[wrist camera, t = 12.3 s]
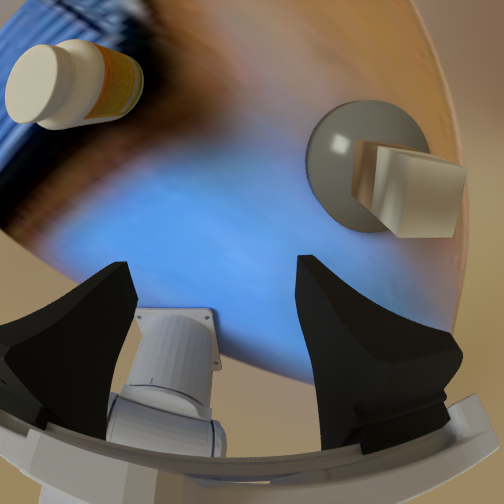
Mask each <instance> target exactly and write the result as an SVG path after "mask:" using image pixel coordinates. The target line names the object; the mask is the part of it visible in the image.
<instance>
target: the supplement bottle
mask: <svg viewBox="0 0 504 504" xmlns="http://www.w3.org/2000/svg"><path fill="white" fill-rule="evenodd" d="M143 85H144V77H143V72H142V69H141V67H140V65H139V64H138V63H137V62H136V61H135V60H134V59H133V58H131V57H129V56H127V55H124V54H122V53H119V52H116V51H114V50H111V49H109V48H106V47H103V46H100V45H97V44H95V43H92V42H89V41H85V40H79V39H72V40H67V41H64V42H61V43H59V44H57V45H55V46H53V45H46V44H42V45H37V46H34V47H32V48H30V49H29V50H28V51H26V52H25V53H24V54H23V55H22V56H21V57H20V58H19V59H18V61H17V62H16V64H15V65H14V67H13V69H12V71H11V73H10V76H9V78H8V82H7V86H6V92H5V103H6V108H7V111H8V114H9V115H10V117H11V118H12V119H13V120H14V121H15V122H17V123H20V124H27V123H33V122H37V123H38V124H39V125H40V126H42V127H44V128H47V129H52V130H58V129H66V128H71V127H76V126H81V125H87V124H94V123H100V122H107V121H112V120H116V119H118V118H121V117H122V116H124V115H126V114H127V113H128V112H129V111H130V110H131V109H132V108H133V107H134V106H135V105H136V103H137V102H138V100H139V98H140V96H141V93H142V90H143Z"/></svg>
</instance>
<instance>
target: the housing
mask: <svg viewBox="0 0 504 504" xmlns="http://www.w3.org/2000/svg"><path fill="white" fill-rule="evenodd" d="M466 172H467V168H465V167H463V166H460V165H458V164H455V163H453V162H450V161H448V160H445V159H442V158H440V157H437V156H434V155H431V154H429V153H426V152H423V151H420V150H417V149H413V148H410V147H407V146H404V145H398V144H391V143H384V142H377V141H368V140H359V139H355V148H354V164H353V176H352V188H351V195H352V196H353V197H354V198H355V199H357V200H358V201H359V202H360V203H361V204H362V205H363V206H365V207H366V208H367V209H368V210H369V211H370V212H371V213H372V214H373V215H375V216H376V217H377V218H378V219H379V220H380V221H381V222H382V223H383V224H384V225H385V226H386V227H387V228H389V229H390V230H391V231H392V232H393V233H394V234H395V235H396V236H397V237H398V238H440V237H453V234H454V230H455V226H456V222H457V218H458V214H459V210H460V205H461V200H462V195H463V190H464V184H465V178H466Z"/></svg>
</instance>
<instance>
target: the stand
mask: <svg viewBox="0 0 504 504" xmlns="http://www.w3.org/2000/svg"><path fill="white" fill-rule="evenodd" d="M355 139H359V140H368V141H377V142H384V143H391V144H398V145H404V146H407V147H410V148H413V149H417V150H420V151H423V152H426V153H429V148H428V144H427V141H426V139H425V136H424V134H423V132H422V131H421V129H420V127H419V126H418V124H417V123H416V122H415V121H414V120H413V118H412V117H411V116H410V115H408V114H407V113H406V112H405V111H404V110H402V109H400V108H399V107H397V106H395V105H392V104H390V103H387V102H383V101H375V100H368V101H353V102H348V103H345V104H342V105H340V106H338V107H336V108H334V109H333V110H331V111H330V112H329V113H327V114H326V115H325V116H324V117H323V118H322V119H321V120H320V121H319V123H318V124H317V126H316V127H315V128H314V130H313V132H312V134H311V136H310V139H309V142H308V145H307V150H306V158H305V166H306V174H307V179H308V182H309V186H310V188H311V190H312V192H313V194H314V196H315V197H316V199H317V200H318V202H319V203H320V204H321V205H322V207H323V208H324V209H325V210H326V212H327V213H328V214H329V215H330V216H331V217H332V218H333V219H334V220H335V221H336V222H338V223H339V224H341V225H342V226H344V227H346V228H348V229H351V230H354V231H358V232H366V233H373V232H380V231H384V230H387V229H389V228H387V227H386V226H385V225H384V224H383V223H382V222H381V221H380V220H379V219H378V218H377V217H376V216H375V215H373V214H372V213H371V212H370V211H369V210H368V209H367V208H366V207H365V206H363V205H362V204H361V203H360V202H359V201H358V200H357V199H355V198H354V197H353V196H352V195H351V188H352V176H353V164H354V148H355ZM429 154H430V153H429Z"/></svg>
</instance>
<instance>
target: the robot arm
mask: <svg viewBox="0 0 504 504" xmlns="http://www.w3.org/2000/svg"><path fill="white" fill-rule="evenodd" d="M295 301H296V307H297V314H298V318H299V322H300V325H301V329H302V332H303V335H304V339H305V342H306V346H307V349H308V353H309V356H310V360H311V364H312V369H313V375H314V381H315V388H316V396H317V403H318V413H319V422H320V435H321V451H318V452H311V453H303V454H295V455H284V456H271V457H249V458H248V457H247V458H228V457H226V451H227V450H226V449H227V442H226V434H225V431H224V429H223V428H222V426H221V424H220V423H219V422H218V421H216V420H211V413H212V409H211V408H210V398H211V386H212V374H213V371H218V370H221V369H222V365H221V360H220V354H219V348H218V343H217V337H216V331H215V325H214V319H213V313H212V310H211V309H209V308H136V307H137V302H138V297H137V294H136V291H135V287H134V284H133V281H132V278H131V274H130V271H129V267H128V264H127V261H124V262H114V263H112V264H110V265H108V266H106V267H105V268H103V269H102V270H100V271H99V272H97V273H96V274H94V275H93V276H92V277H90V278H89V279H87V280H86V281H84V282H83V283H82V284H80V285H79V286H77V287H76V288H74V289H73V290H71V291H70V292H68V293H67V294H65V295H64V296H63V297H61V298H59V299H57V300H56V301H54V302H52V303H51V304H49V305H47V306H45V307H43V308H42V309H40V310H37V311H35V312H33V313H31V314H29V315H27V316H25V317H22V318H20V319H18V320H15V321H12V322H9V323H7V324H4V325H0V456H1V457H3V458H4V459H6V460H7V461H8V462H10V463H11V464H13V465H14V466H16V467H17V468H18V469H19V470H20V472H21V473H23V474H24V475H26V476H28V477H29V478H31V479H32V480H34V481H36V482H38V483H40V484H41V485H42V489H41V494H40V499H39V504H401V503H404V502H406V501H409V500H411V499H413V498H416V497H418V496H420V495H422V494H425V493H426V492H428V491H431V490H433V489H435V488H437V487H439V486H440V485H442V484H444V483H446V482H448V481H450V480H451V479H453V478H455V477H457V476H458V475H460V474H462V473H463V472H465V471H467V470H468V469H470V468H471V467H473V466H475V465H476V464H478V463H479V462H480V461H482V460H483V459H485V458H486V457H488V456H489V455H491V454H492V453H493V452H495V451H496V450H497V449H499V447H500V444H499V441H498V439H497V436H496V434H495V431H494V429H493V427H492V425H491V422H490V420H489V418H488V416H487V414H486V412H485V410H484V407H483V406H482V403H481V401H480V399H479V397H478V396H477V394H472V395H470V396H468V397H466V398H464V399H462V400H460V401H458V402H456V403H454V404H452V405H451V406H449V407H448V408H447V409H446V407H445V404H444V401H445V400H446V399H447V395H446V394H445V391H444V388H445V387H446V386H447V384H448V383H449V382H450V380H451V379H452V378H453V376H454V375H455V374H456V372H457V371H458V369H459V367H460V365H461V362H462V359H463V353H462V351H461V349H460V348H459V346H458V344H457V343H456V341H455V340H454V338H453V337H452V335H451V334H450V333H449V332H445V331H442V330H438V329H435V328H431V327H428V326H424V325H422V324H419V323H416V322H414V321H411V320H409V319H406V318H404V317H402V316H399V315H397V314H395V313H393V312H391V311H389V310H387V309H385V308H383V307H381V306H380V305H378V304H376V303H374V302H373V301H371V300H370V299H368V298H366V297H365V296H363V295H362V294H360V293H359V292H357V291H356V290H355V289H353V288H352V287H350V286H349V285H348V284H346V283H345V282H344V281H343V280H341V279H340V278H339V277H338V276H337V275H335V274H334V273H333V272H332V271H331V270H329V269H328V268H327V267H326V266H325V265H324V264H323V263H321V262H320V261H319V260H318V259H317V258H316V257H315V256H313V255H298V257H297V272H296V286H295ZM134 315H135V317H136V320H137V323H138V325H139V328H140V330H141V333H142V335H143V336H142V339H141V342H140V345H139V348H138V351H137V353H136V356H135V359H134V362H133V365H132V368H131V371H130V374H129V378H128V381H127V384H126V385H125V384H122V387H121V390H120V393H119V394H117V393H114V392H111V393H110V389H111V383H112V377H113V374H114V369H115V365H116V362H117V359H118V356H119V353H120V351H121V348H122V345H123V343H124V341H125V338H126V336H127V333H128V331H129V328H130V326H131V323H132V321H133V318H134ZM140 316H141V317H140ZM206 316H209V318H208V317H206ZM222 481H224V482H222ZM255 481H270V484H254V483H253V484H252V483H234V482H255Z"/></svg>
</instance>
